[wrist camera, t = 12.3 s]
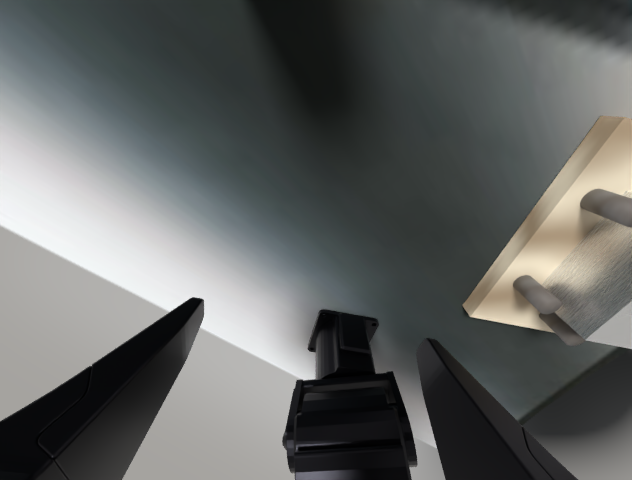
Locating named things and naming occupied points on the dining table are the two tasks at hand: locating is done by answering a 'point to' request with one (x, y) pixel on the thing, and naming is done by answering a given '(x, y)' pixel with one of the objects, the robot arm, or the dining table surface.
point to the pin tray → (559, 231)
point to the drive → (597, 285)
